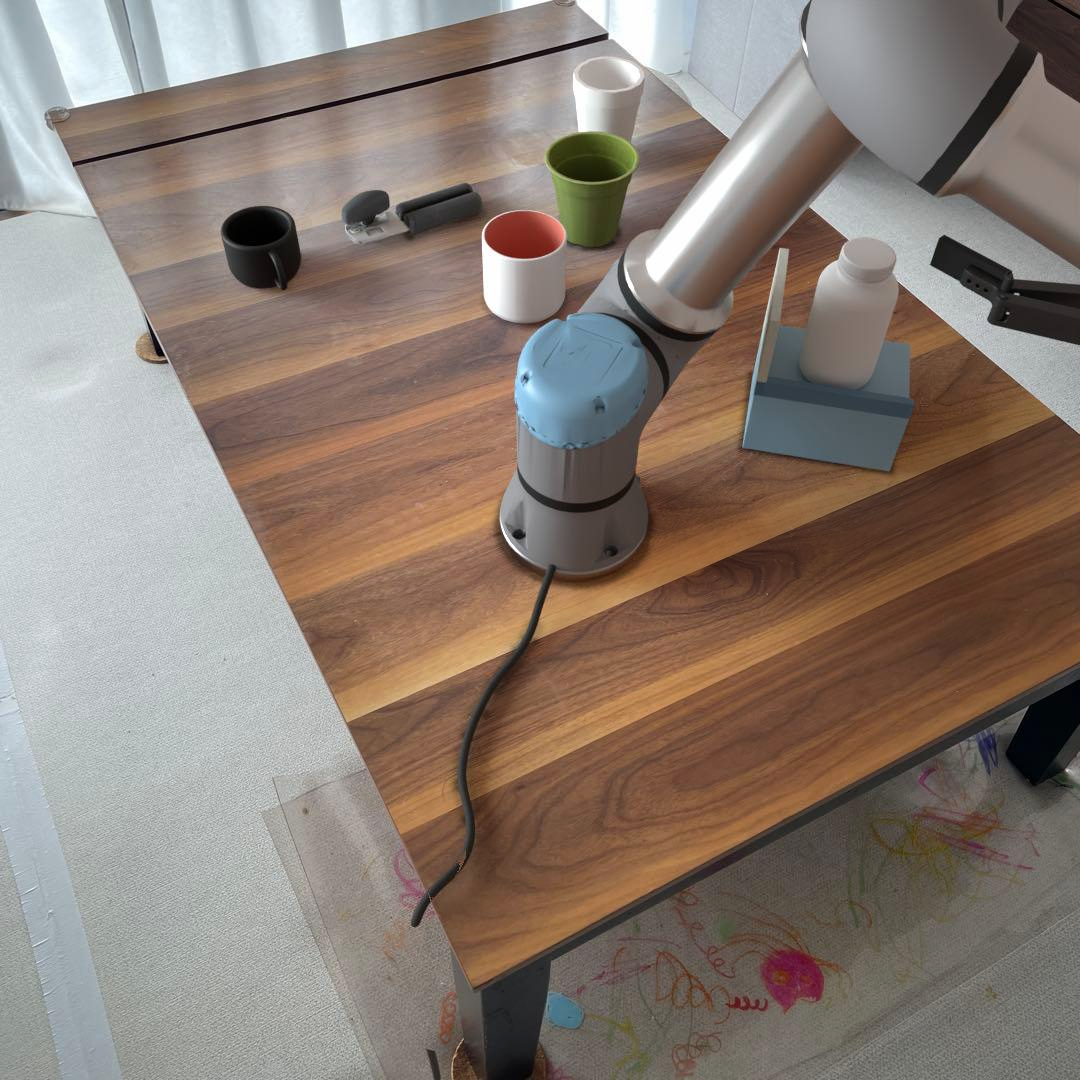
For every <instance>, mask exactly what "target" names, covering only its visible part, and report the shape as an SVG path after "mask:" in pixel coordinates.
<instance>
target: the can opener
mask: <svg viewBox="0 0 1080 1080" xmlns="http://www.w3.org/2000/svg"><path fill="white" fill-rule="evenodd" d="M482 199H483V198H482V197H481V195H480V194H479V192H476V191H474V189H473V186H472V185H471V184H469V183H468V182H463V183H458V184H456V185H453V186H450V187H445V188H444V189H440V190H437V191H434V192H431V193H428V194H427V193H426V194H425V195H424V194H423V195H422V196H418V197H415V198H412V199H409V200H406V201H402V202H399V203H398V204H396V206H395V210H392V211H388V209H390V206H391V204H390V201H391V200H390V195H389V193H388V192H386V190H382V189H369V190H366V191H362V192H360V193H358V194H355V196H353V197H352V198H350V199H349V200H348V201H347V202H346V203H345V204H344V205H343V207H342V208H341V220H342V223H344V224H345V225H344V229H345V232H346V235H347V238H348V239H349V240H351V241H352V242H353V243H355V244H357V245H360V246H364V245H368V244H372V243H374V242H377V241H381V240H385V239H388V238H391V237H394V236H397V235H400V234H403V233H407V234H408V235H409V236H416V235H418V234H421V233H424V232H428V231H430V230H434V229H436V228H440V227H443V226H445V225H449V224H452V223H454V222H457V221H461V220H464V219H466V218H469V217H473V216H475V215H478V214H480V213H481V212H482V209H483V200H482ZM378 215H383V216H378Z"/></svg>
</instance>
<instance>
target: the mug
mask: <svg viewBox="0 0 1080 1080" xmlns="http://www.w3.org/2000/svg"><path fill="white" fill-rule="evenodd" d="M220 238H221V241H222V246H223V250H224V253H225V256H226V261H227V264H228V268H229V271H230V272H231V274H232V275H233V277H234V278H236V280H237V281H238V282H239V283H241V284H242V285H243V286H246V287H249V288H251V289H252V288H253V289H258V290H259V289H260V290H265V289H266V290H267V289H273V288H278V289H279V290H280V291H285V290H287V289H288V282H290V281H291V280H292V279H293V278H295V276H296V275H297V274H298V272H299V270H300V267H301V263H302V253H301V252H302V251H301V248H300V243H299V242H300V241H299V237H298V232H297V226H296V223H295V220H294V217H292V215H291V214H290V213H289V212H287V211H286V210H284V209H282V208H279V207H276V206H271V205H253V206H248V207H244V208H241V209H239V210H237V211H235V212H233V213H232V214H230V215H229V216H228V217H227V218H226V219H225V220H224V221H223V223H222V225H221V227H220Z"/></svg>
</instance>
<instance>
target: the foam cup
mask: <svg viewBox="0 0 1080 1080" xmlns="http://www.w3.org/2000/svg"><path fill="white" fill-rule="evenodd" d="M645 77H646V76H645V73H644V69H643V68H642V67H641V66H640V65H638V64H637V63H635V62H634V61H632V60H630V59H626V58H623V57H619V56H606V55H604V56H603V55H602V56H597V57H591V58H587V59H586V60H584V61H582V62H580V63H578V64H577V65H576V67H575V69H574V70H573V77H572V79H573V80H572V91H573V95H574V97H575V98H574V99H575V107H576V118H577V128H578V132H588V131H597V132H605V133H610V134H614V135H617V136H619V137H622V138H624V139H626V140H627V141H629V142H630V143H631V144H632V139H633V134H634V130H635V126H636V121H637V117H638V111H639V107H640V103H641V99H642V96H643V94H644V90H645V79H646V78H645Z"/></svg>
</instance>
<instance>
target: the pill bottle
mask: <svg viewBox="0 0 1080 1080" xmlns="http://www.w3.org/2000/svg"><path fill="white" fill-rule="evenodd" d="M896 263H897V254H896V252H895V250H894V249H893V247H891V245H889V244H888V243H886V242H885V241H883V240H880V239H877V238H873V237H867V236H866V237H865V236H864V237H855V238H851V239H849V240H847V241H846V242H845V243H844V244H843V245H842V246H841V250H840V253H839V257H838V259H837V260H834V261H832V262H831V263H829V264H828V265H827V266H825V268H824V269H823V271H822V272H821V273H820V274H819V278H818V281H817V284H816V287H815V292H814V296H813V300H812V304H811V308H810V312H809V316H808V320H807V322H806V323H807V324H806V327H805V329H806V331H805V335H804V339H803V343H802V347H801V350H800V355H799V367H800V370H801V372H802V374H803V375H804V377H805V378H806V379H807V380H808V381H810V382H811V383H815V384H822V385H828V386H835V387H841V388H848V389H854V390H856V389H859V388H861V387H862V386H864V385H865V384H866V383H867V382H868V381H869V380H870V378H871V376H872V374H873V372H874V369H875V366H876V363H877V360H878V357H879V354H880V351H881V347H882V344H883V341H884V340H885V338H886V335H887V332H888V329H889V326H890V322H891V320H892V317H893V313H894V311H895V307H896V306H897V305H896V304H897V301H898V298H899V295H900V293H899V292H900V291H899V288H900V287H899V283H898V282H899V281H898V279H897V277H896V276H895V274H894V273H893V272H894V269H895V266H896Z"/></svg>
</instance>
